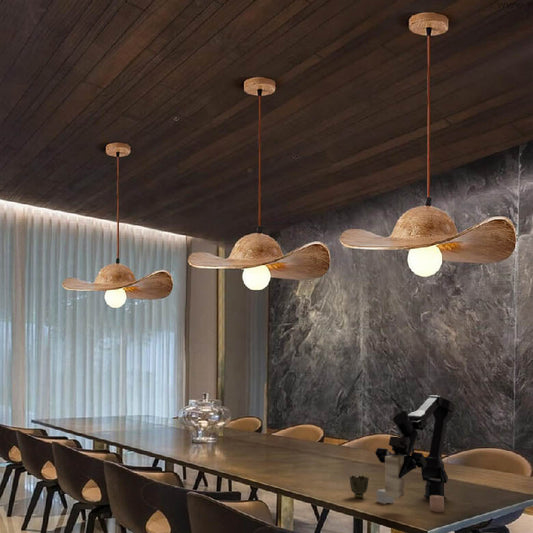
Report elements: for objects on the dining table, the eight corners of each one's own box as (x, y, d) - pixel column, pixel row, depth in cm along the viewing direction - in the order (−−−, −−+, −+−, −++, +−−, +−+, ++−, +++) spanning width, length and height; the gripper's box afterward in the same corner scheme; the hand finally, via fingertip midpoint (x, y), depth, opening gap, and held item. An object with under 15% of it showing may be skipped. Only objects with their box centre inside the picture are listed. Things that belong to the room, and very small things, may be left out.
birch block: (391, 493, 261) (391, 454, 262) (404, 495, 258) (403, 456, 259) (385, 496, 257) (384, 456, 258) (397, 498, 254) (397, 458, 255)
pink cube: (439, 508, 263) (438, 494, 263) (446, 511, 258) (446, 497, 259) (427, 509, 261) (427, 495, 262) (434, 512, 256) (434, 498, 257)
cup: (366, 495, 283) (367, 475, 284) (370, 499, 275) (370, 478, 276) (348, 495, 283) (348, 474, 283) (351, 499, 275) (351, 478, 276)
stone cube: (385, 500, 275) (385, 488, 275) (393, 503, 271) (393, 491, 271) (376, 502, 272) (376, 489, 273) (384, 504, 268) (384, 492, 269)
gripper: (377, 425, 269) (362, 459, 259) (422, 430, 257) (408, 465, 247) (388, 445, 274) (373, 478, 264) (432, 450, 262) (419, 485, 253)
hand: (392, 476), depth 257 cm, fingers closed on birch block, 5 cm apart
